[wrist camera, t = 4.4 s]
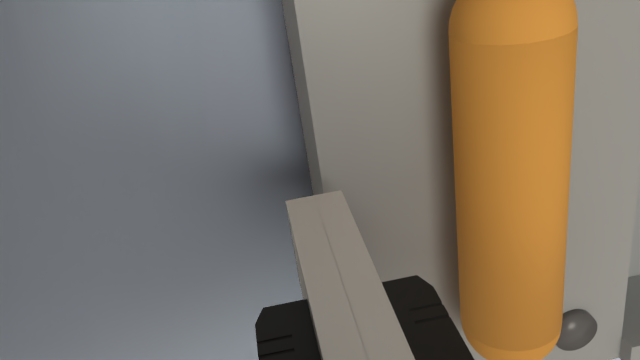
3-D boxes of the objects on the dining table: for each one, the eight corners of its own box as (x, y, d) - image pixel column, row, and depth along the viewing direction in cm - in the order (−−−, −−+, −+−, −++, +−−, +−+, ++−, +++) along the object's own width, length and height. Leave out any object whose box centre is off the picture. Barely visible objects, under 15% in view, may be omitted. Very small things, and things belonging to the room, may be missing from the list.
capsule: (448, 333, 21) (484, 399, 18) (428, -34, 15) (475, -17, 13) (531, 314, 21) (579, 376, 18) (541, -53, 16) (610, -42, 13)
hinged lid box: (338, 351, 25) (362, 433, 21) (259, -141, 17) (274, -149, 13) (710, 266, 26) (794, 328, 23) (800, -222, 18) (952, -251, 15)
